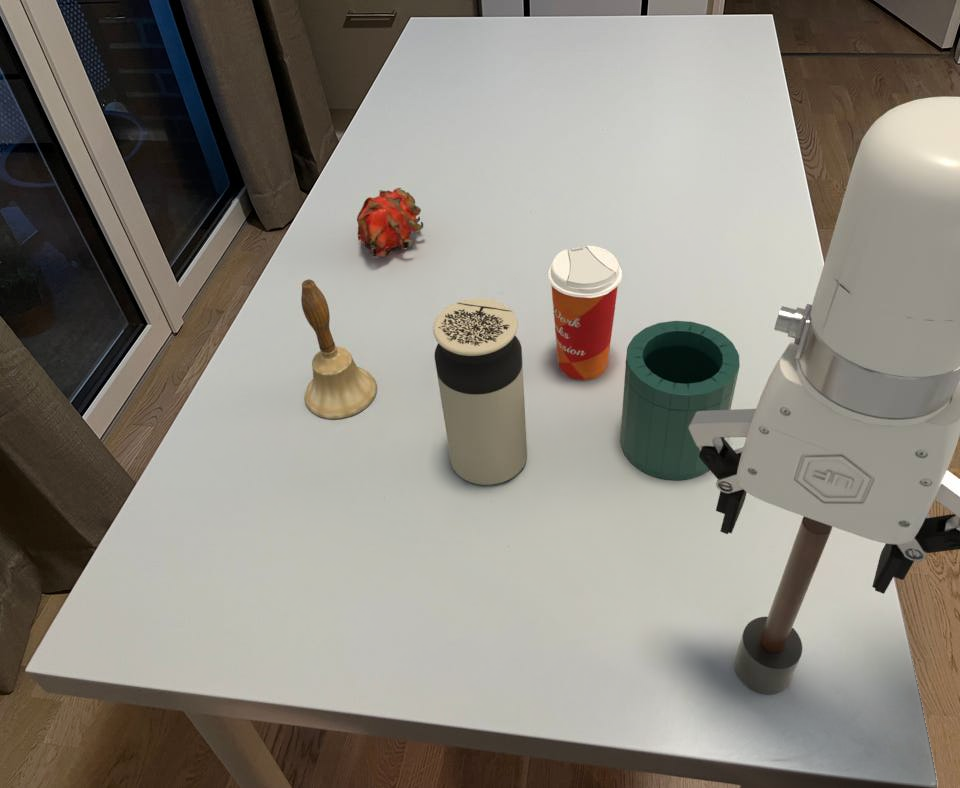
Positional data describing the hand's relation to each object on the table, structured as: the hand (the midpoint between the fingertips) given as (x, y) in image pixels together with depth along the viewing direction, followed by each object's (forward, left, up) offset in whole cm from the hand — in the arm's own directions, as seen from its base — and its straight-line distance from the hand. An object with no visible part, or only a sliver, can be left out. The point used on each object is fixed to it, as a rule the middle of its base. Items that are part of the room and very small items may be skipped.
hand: (804, 545), depth 52 cm
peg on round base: (0, 0, -17) cm, 17 cm away
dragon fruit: (+62, -38, -18) cm, 75 cm away
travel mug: (+31, -10, -18) cm, 37 cm away
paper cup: (+28, -27, -18) cm, 43 cm away
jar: (+15, -20, -17) cm, 30 cm away
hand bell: (+51, -11, -18) cm, 55 cm away
